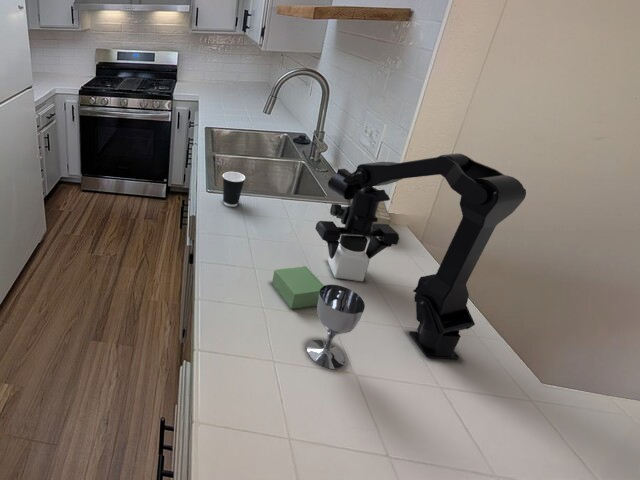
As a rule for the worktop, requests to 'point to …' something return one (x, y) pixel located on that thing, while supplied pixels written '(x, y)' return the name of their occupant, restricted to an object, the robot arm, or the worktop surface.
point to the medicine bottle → (350, 258)
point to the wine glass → (335, 322)
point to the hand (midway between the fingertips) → (348, 258)
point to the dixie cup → (232, 187)
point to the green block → (297, 286)
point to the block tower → (381, 214)
